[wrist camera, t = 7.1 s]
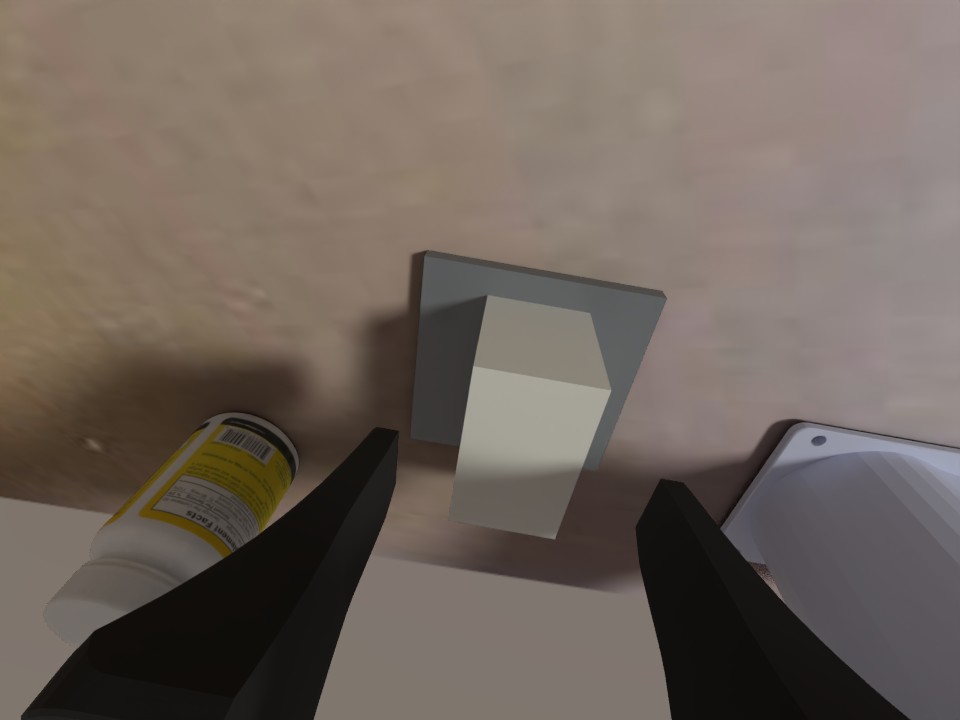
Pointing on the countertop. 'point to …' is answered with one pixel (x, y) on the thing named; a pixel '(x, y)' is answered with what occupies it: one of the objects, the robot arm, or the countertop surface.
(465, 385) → the coaster
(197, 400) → the countertop surface
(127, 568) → the supplement bottle
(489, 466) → the block
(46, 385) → the countertop surface
